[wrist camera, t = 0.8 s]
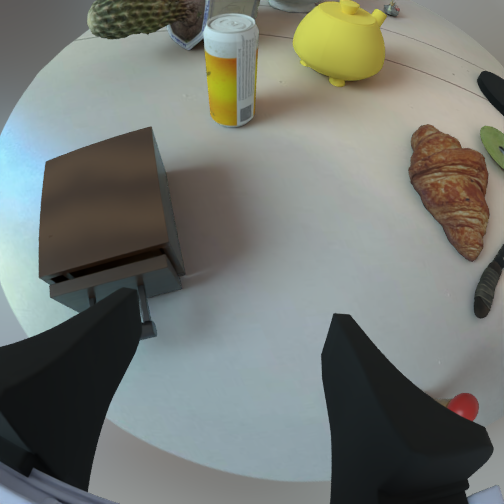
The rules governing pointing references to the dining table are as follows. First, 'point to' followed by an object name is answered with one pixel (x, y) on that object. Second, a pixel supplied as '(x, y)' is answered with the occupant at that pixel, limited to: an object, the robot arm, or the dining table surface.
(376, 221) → the dining table surface
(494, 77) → the wireless charger
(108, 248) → the cabinet
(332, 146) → the dining table surface
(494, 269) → the knife
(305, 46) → the teapot
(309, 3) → the ceramic pitcher
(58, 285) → the drawer
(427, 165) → the pastry
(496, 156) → the green disc
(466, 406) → the ball
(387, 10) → the figurine
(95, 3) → the potted plant
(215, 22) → the yellow two-tone cylinder
